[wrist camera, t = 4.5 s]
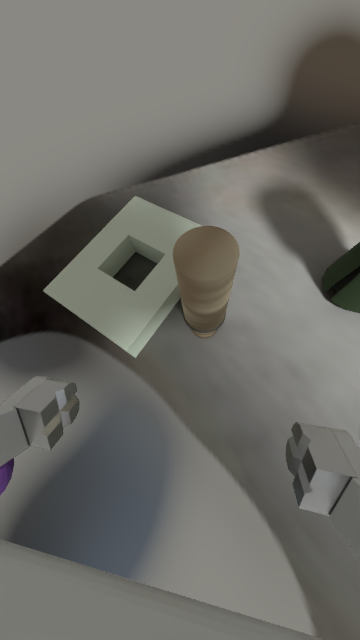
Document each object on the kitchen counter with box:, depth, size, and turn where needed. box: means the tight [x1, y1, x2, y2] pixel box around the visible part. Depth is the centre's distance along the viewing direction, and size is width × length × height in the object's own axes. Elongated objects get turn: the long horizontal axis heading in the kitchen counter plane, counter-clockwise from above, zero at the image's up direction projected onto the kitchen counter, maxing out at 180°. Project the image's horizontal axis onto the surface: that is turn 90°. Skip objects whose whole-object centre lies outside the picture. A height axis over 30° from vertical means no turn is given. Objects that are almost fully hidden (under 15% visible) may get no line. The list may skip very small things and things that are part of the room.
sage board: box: [43, 196, 201, 358], centre depth 25 cm, size 12×16×3 cm
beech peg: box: [173, 226, 240, 338], centre depth 18 cm, size 4×4×12 cm
